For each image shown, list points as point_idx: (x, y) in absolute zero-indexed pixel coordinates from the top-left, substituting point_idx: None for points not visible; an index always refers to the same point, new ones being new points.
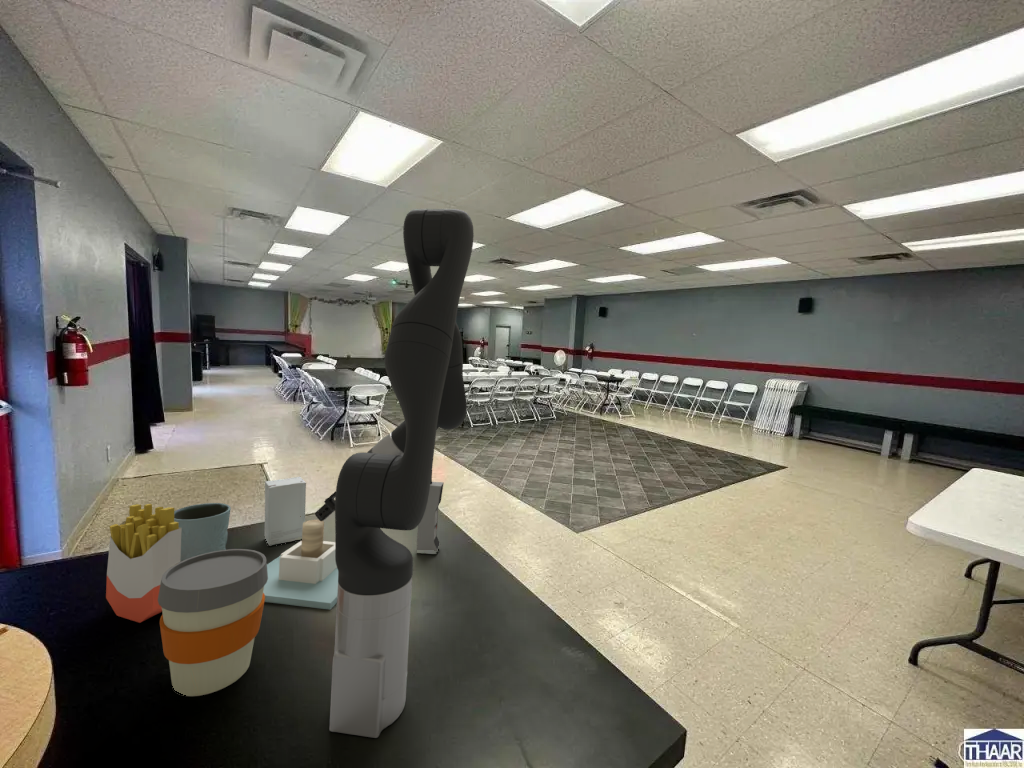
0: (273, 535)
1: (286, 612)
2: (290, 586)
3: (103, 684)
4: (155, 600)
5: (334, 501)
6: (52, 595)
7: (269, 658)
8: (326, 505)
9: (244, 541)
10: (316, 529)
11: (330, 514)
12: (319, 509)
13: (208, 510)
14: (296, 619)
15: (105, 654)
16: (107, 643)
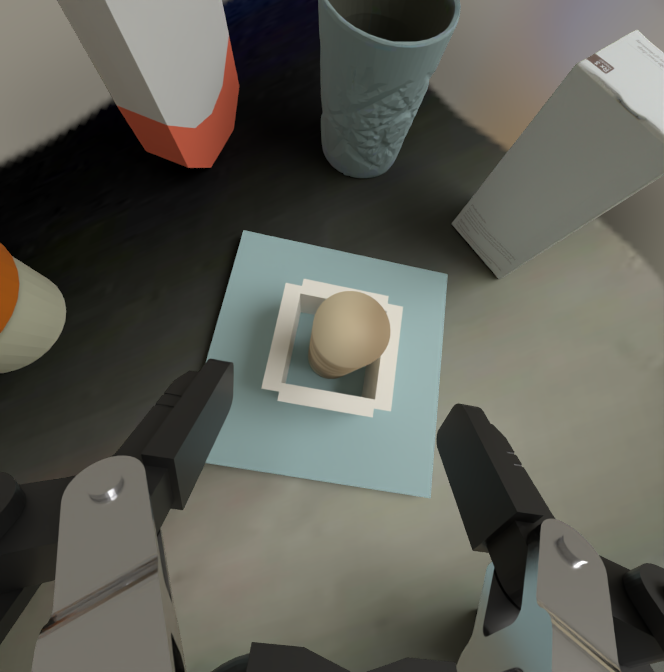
0: (470, 214)
1: (183, 365)
2: (258, 339)
3: (12, 189)
4: (139, 135)
5: (38, 563)
6: (260, 19)
7: (23, 398)
8: (121, 453)
9: (468, 171)
10: (319, 353)
11: (207, 452)
12: (191, 384)
13: (438, 15)
14: (154, 395)
15: (90, 154)
16: (120, 142)
